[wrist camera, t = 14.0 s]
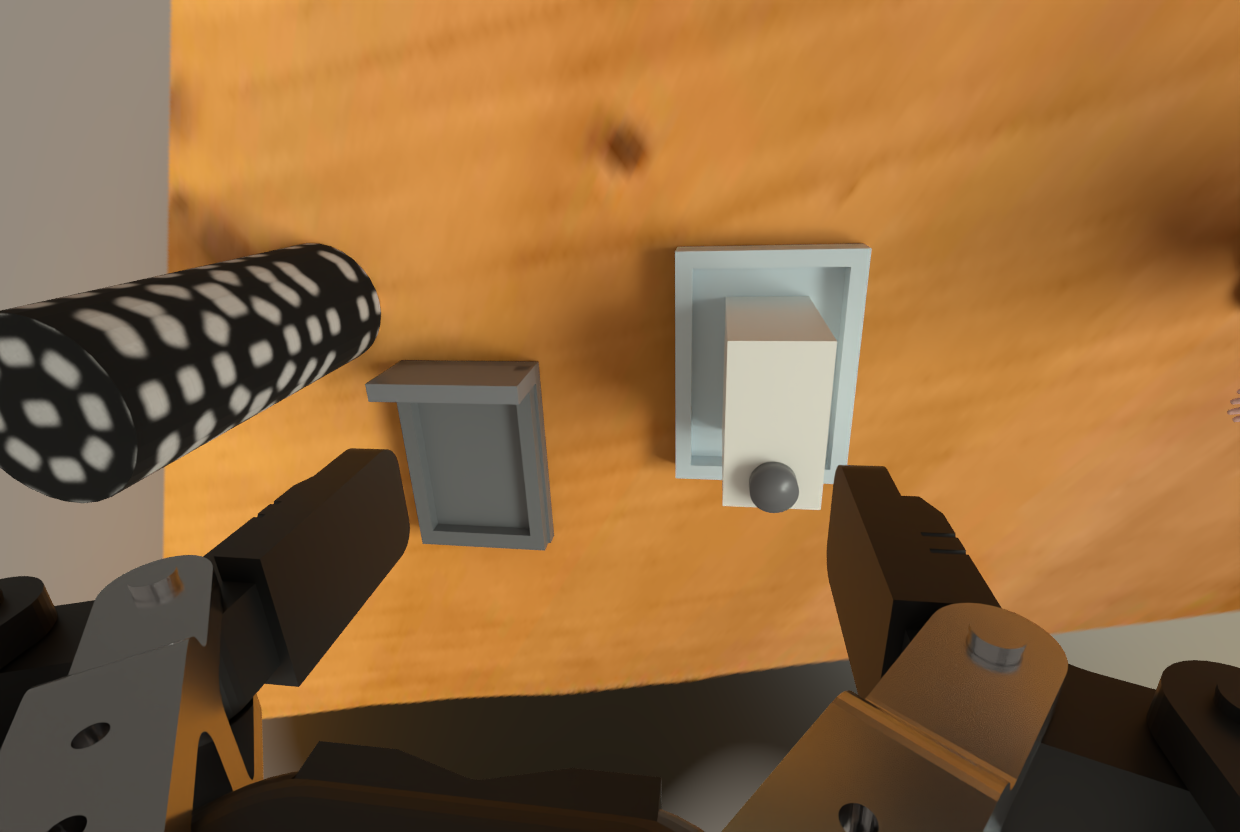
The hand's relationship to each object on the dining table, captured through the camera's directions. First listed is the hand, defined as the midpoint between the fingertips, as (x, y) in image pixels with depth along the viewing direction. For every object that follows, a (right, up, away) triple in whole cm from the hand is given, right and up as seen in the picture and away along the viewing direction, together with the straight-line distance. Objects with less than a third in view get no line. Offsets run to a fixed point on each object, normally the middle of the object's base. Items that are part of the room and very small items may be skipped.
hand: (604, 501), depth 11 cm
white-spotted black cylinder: (-20, +9, +32) cm, 39 cm away
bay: (-10, -1, +35) cm, 36 cm away
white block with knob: (+9, +5, +29) cm, 31 cm away
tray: (+10, +5, +29) cm, 31 cm away
